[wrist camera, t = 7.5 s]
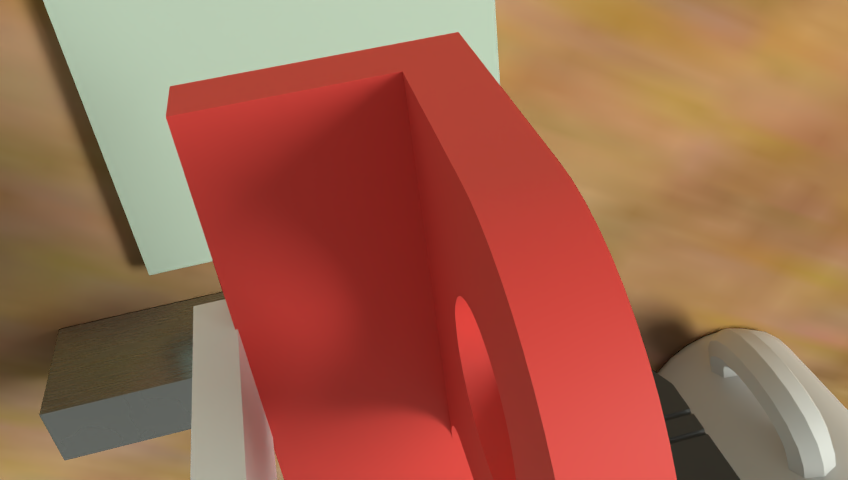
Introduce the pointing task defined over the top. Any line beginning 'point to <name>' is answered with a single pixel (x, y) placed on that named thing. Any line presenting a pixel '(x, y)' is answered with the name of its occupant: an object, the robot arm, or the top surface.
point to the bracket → (415, 274)
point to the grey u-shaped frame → (122, 379)
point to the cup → (762, 406)
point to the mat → (210, 58)
